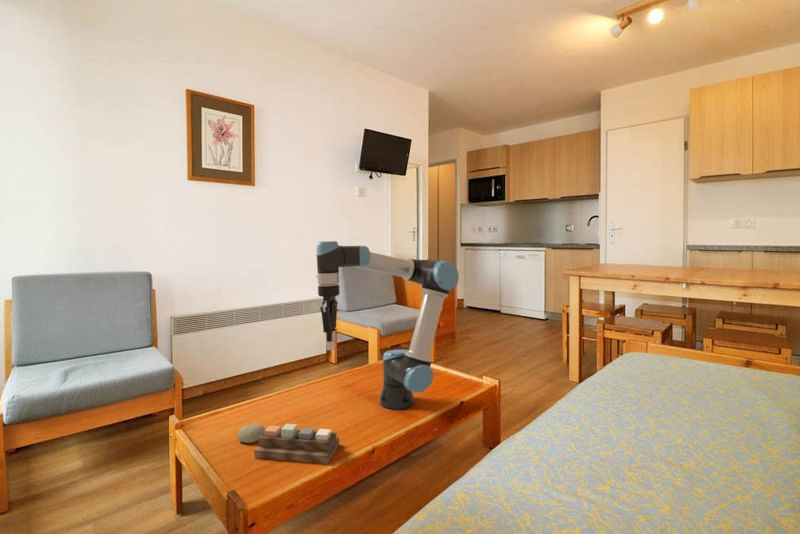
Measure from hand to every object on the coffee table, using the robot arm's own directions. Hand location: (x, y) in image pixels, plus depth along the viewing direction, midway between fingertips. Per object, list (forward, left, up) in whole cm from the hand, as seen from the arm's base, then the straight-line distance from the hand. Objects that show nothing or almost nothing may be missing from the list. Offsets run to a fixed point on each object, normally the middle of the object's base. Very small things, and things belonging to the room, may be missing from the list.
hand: (330, 349), depth 141 cm
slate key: (+5, +12, -28) cm, 31 cm away
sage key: (+11, +12, -27) cm, 32 cm away
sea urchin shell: (+28, +6, -32) cm, 43 cm away
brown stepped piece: (+8, +12, -32) cm, 35 cm away
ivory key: (-1, +12, -28) cm, 31 cm away
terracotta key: (+17, +12, -28) cm, 35 cm away
